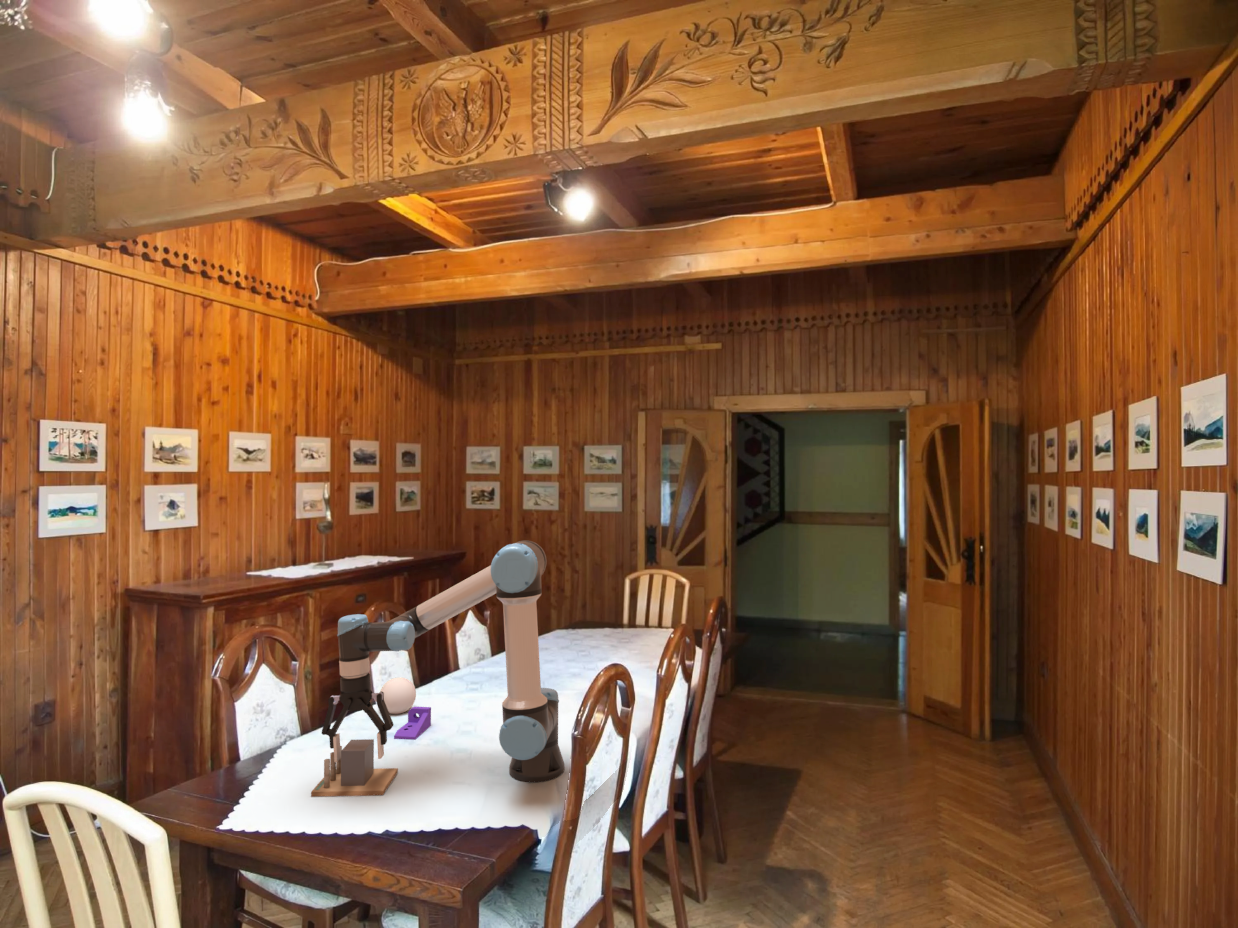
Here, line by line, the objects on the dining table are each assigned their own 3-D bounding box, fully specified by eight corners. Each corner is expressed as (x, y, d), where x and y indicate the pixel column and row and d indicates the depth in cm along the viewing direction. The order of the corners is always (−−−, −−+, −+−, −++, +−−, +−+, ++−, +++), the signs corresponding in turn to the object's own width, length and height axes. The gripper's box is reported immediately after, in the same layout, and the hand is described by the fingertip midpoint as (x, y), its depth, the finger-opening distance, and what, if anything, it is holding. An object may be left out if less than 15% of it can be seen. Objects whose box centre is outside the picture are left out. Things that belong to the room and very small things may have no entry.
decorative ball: (415, 706, 253) (415, 672, 254) (416, 716, 242) (416, 681, 242) (379, 709, 250) (379, 674, 250) (379, 720, 238) (379, 684, 239)
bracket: (410, 727, 233) (410, 706, 233) (430, 728, 232) (430, 707, 232) (394, 740, 221) (394, 718, 221) (415, 741, 220) (415, 719, 220)
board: (397, 772, 197) (397, 742, 197) (383, 795, 183) (383, 762, 183) (330, 773, 196) (331, 743, 196) (311, 796, 182) (311, 763, 182)
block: (373, 772, 193) (373, 739, 194) (364, 785, 185) (364, 750, 186) (350, 773, 193) (351, 739, 193) (340, 785, 185) (340, 750, 185)
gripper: (403, 667, 194) (407, 749, 193) (316, 673, 193) (320, 756, 192) (395, 675, 186) (400, 760, 186) (305, 681, 185) (309, 767, 185)
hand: (359, 758), depth 189 cm, fingers open, 11 cm apart
